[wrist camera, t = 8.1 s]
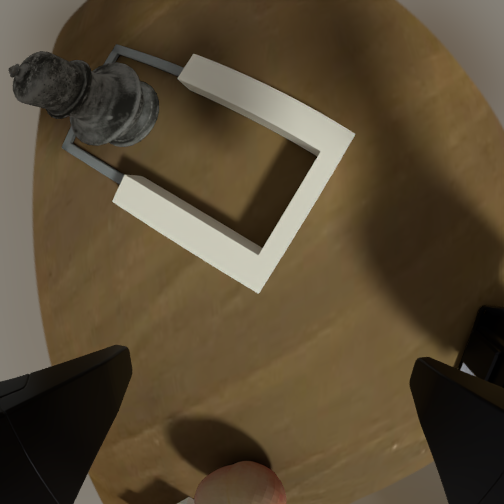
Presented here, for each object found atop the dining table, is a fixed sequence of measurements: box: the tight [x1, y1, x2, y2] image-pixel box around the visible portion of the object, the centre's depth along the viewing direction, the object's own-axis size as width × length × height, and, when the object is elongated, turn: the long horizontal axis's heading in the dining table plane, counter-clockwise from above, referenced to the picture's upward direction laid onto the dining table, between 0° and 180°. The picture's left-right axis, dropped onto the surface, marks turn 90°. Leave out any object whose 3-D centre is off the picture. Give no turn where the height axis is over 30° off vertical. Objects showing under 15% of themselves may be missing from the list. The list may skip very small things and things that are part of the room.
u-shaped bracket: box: [112, 54, 355, 294], centre depth 19 cm, size 11×11×2 cm
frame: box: [62, 44, 184, 184], centre depth 20 cm, size 8×10×1 cm
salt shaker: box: [9, 51, 159, 147], centre depth 15 cm, size 6×6×12 cm
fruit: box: [194, 461, 286, 504], centre depth 21 cm, size 8×8×8 cm
